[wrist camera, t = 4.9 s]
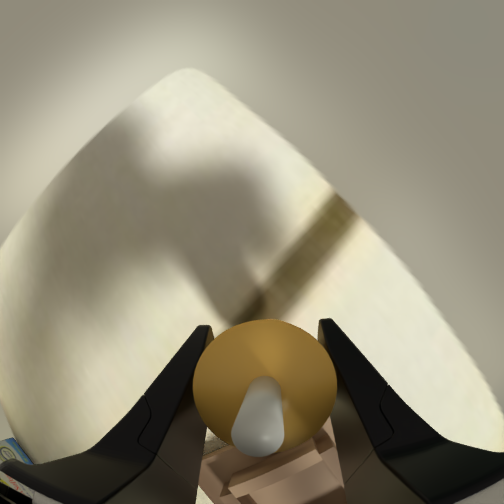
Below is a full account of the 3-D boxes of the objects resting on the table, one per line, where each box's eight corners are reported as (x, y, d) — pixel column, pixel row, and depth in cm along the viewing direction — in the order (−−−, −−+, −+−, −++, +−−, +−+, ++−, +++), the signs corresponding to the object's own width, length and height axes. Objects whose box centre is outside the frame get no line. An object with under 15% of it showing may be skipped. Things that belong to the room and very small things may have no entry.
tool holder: (268, 551, 15) (266, 573, 12) (188, 461, 18) (175, 480, 15) (397, 492, 16) (410, 510, 13) (333, 389, 19) (343, 401, 15)
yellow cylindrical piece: (258, 393, 16) (222, 539, 3) (225, 339, 16) (108, 383, 4) (314, 360, 16) (406, 453, 4) (281, 306, 17) (300, 274, 4)
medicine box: (61, 494, 17) (11, 526, 9) (49, 506, 17) (3, 534, 8) (13, 435, 19) (-43, 451, 10) (4, 452, 18) (-47, 468, 10)
